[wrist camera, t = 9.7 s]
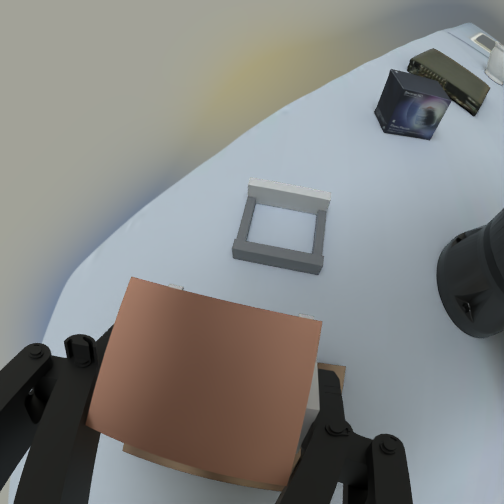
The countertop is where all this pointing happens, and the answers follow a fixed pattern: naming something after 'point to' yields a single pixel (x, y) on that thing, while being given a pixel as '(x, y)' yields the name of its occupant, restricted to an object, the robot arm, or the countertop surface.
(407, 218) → the countertop surface
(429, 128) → the small box
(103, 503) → the countertop surface
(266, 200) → the frame
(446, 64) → the network switch
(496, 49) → the jar
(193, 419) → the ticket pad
